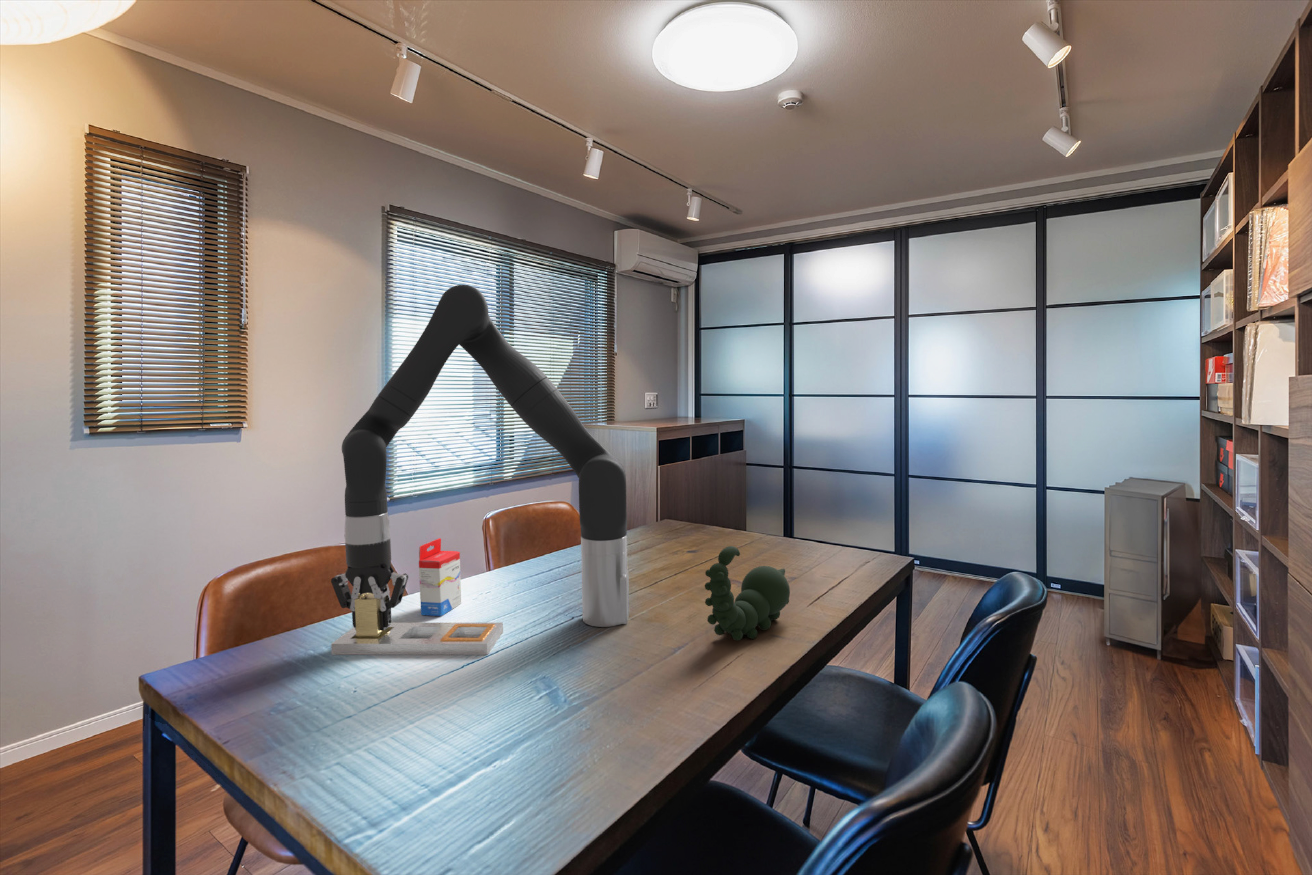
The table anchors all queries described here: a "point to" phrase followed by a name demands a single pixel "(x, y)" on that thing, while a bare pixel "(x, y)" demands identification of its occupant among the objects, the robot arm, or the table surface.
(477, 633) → the white flat slotted block
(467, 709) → the table surface
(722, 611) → the toy figurine
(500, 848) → the table surface
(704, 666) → the table surface
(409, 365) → the robot arm
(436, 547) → the ink box
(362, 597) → the brass block
